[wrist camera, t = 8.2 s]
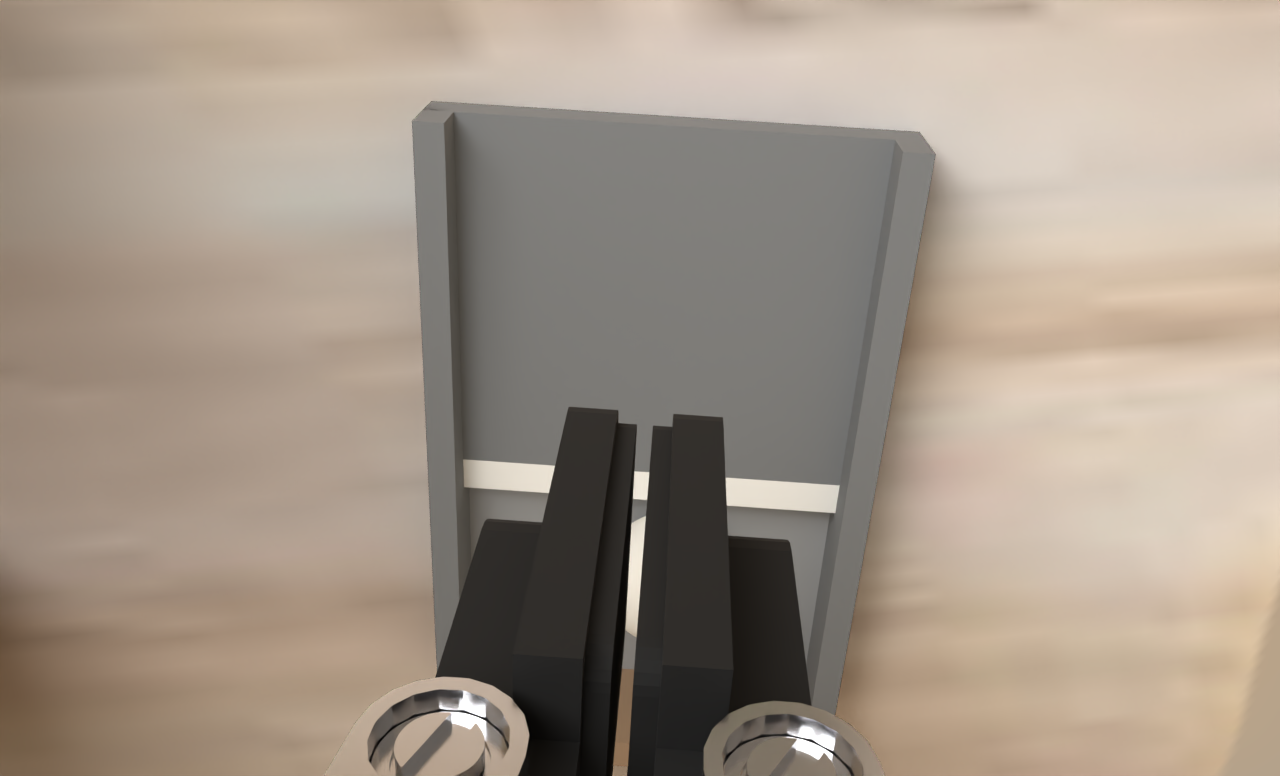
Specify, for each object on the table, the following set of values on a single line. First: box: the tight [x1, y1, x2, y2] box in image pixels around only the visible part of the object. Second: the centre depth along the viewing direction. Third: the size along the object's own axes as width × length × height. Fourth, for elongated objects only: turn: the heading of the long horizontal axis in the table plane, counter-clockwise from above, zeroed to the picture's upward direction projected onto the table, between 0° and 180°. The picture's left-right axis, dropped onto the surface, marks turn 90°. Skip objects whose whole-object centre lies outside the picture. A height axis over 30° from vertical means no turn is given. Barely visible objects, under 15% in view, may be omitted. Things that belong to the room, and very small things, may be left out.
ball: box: [625, 516, 646, 637], centre depth 33 cm, size 4×4×4 cm
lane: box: [412, 101, 936, 766], centre depth 32 cm, size 20×13×4 cm, turn 177°
